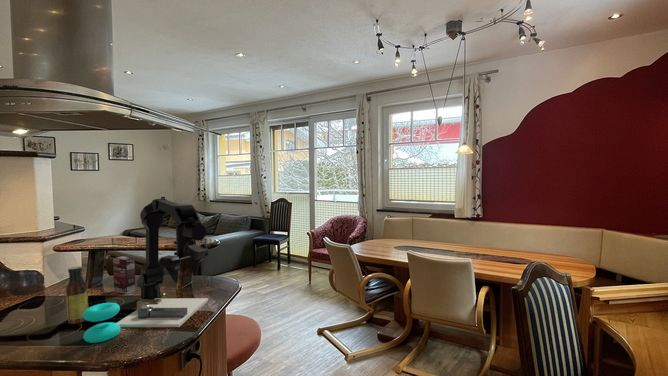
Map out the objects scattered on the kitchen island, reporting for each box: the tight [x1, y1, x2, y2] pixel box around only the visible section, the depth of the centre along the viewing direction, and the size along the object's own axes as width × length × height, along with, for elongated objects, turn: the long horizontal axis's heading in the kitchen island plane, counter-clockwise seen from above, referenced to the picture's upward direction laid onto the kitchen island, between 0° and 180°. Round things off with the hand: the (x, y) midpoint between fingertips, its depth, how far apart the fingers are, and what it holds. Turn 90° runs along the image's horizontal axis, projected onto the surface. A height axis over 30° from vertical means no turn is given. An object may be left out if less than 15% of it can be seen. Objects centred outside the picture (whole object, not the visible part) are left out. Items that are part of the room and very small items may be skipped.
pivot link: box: [138, 304, 187, 319], centre depth 122 cm, size 18×5×4 cm, turn 89°
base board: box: [116, 297, 209, 328], centre depth 127 cm, size 23×25×1 cm
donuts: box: [83, 302, 122, 344], centre depth 108 cm, size 10×10×10 cm
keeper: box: [136, 298, 163, 312], centre depth 127 cm, size 8×3×4 cm, turn 89°
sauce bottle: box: [65, 266, 90, 325], centre depth 120 cm, size 7×6×20 cm
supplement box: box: [112, 256, 136, 295], centre depth 152 cm, size 9×5×16 cm, turn 69°
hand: (185, 279), depth 125 cm, fingers open, 9 cm apart
